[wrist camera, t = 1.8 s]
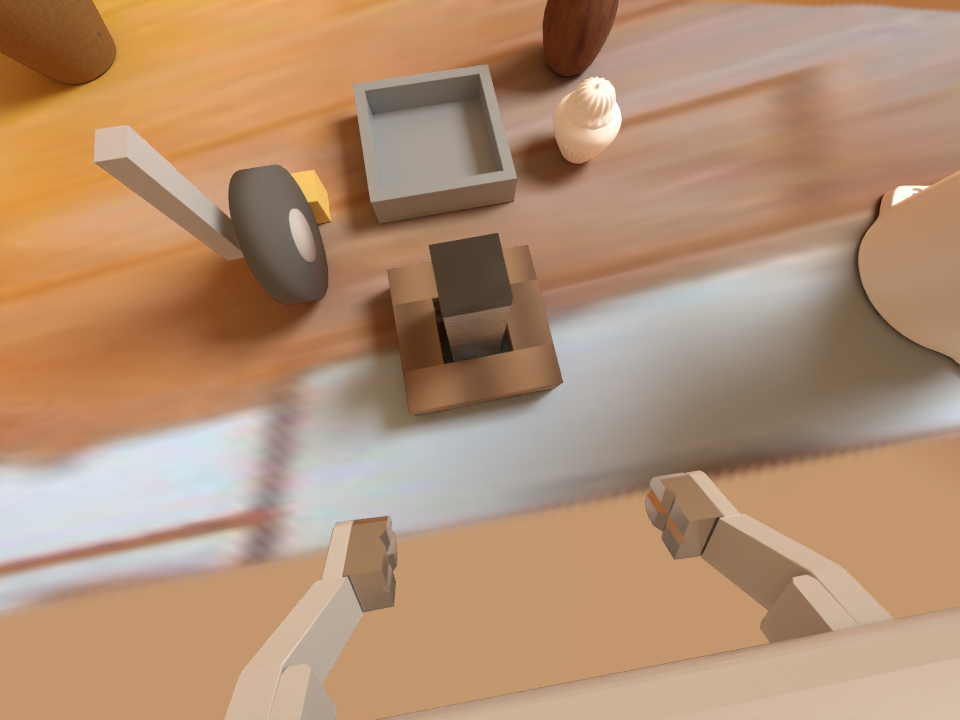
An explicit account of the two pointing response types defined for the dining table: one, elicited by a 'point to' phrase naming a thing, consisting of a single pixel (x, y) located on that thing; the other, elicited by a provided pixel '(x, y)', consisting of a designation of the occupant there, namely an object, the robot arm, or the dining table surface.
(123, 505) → the dining table surface
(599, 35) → the wooden figurine
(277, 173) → the grey disc with lever
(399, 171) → the tray
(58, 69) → the plant pot
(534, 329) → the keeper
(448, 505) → the dining table surface
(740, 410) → the dining table surface
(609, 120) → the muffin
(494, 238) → the pin
